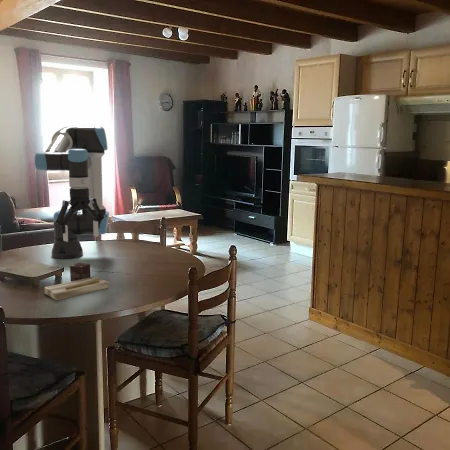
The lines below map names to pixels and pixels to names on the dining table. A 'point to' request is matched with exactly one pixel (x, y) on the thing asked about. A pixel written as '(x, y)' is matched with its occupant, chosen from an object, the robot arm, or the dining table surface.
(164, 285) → the dining table surface
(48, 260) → the dining table surface
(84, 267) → the box
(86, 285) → the board
